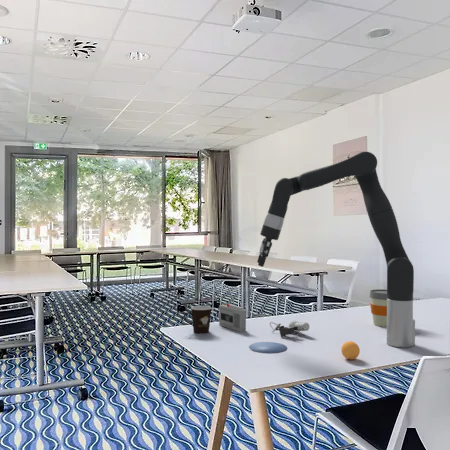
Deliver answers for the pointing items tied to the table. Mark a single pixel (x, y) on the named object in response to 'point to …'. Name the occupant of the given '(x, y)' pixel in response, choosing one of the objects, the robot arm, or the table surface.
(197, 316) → the coffee mug
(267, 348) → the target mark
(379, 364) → the table surface
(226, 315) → the cassette player
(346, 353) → the ball
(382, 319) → the reusable coffee cup
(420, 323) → the table surface
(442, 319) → the table surface
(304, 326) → the clip-on lamp
